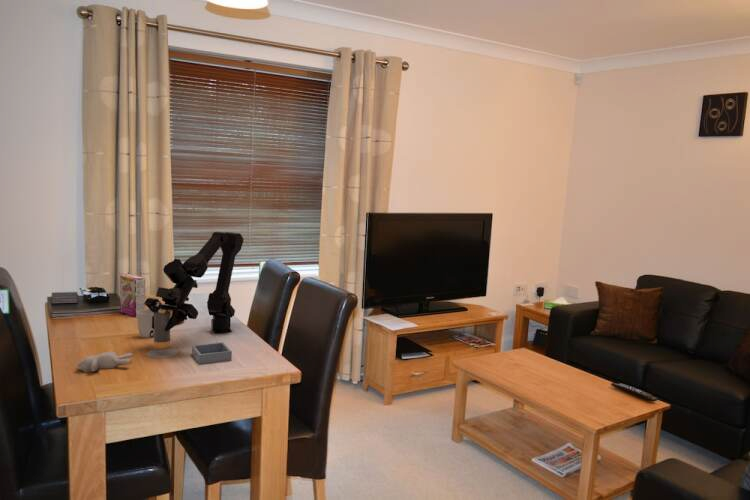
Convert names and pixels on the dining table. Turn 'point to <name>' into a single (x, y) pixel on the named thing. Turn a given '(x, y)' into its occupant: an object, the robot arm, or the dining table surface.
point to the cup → (145, 323)
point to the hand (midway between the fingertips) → (159, 329)
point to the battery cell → (161, 330)
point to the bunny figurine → (103, 361)
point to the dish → (211, 353)
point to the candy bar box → (132, 294)
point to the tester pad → (161, 353)
